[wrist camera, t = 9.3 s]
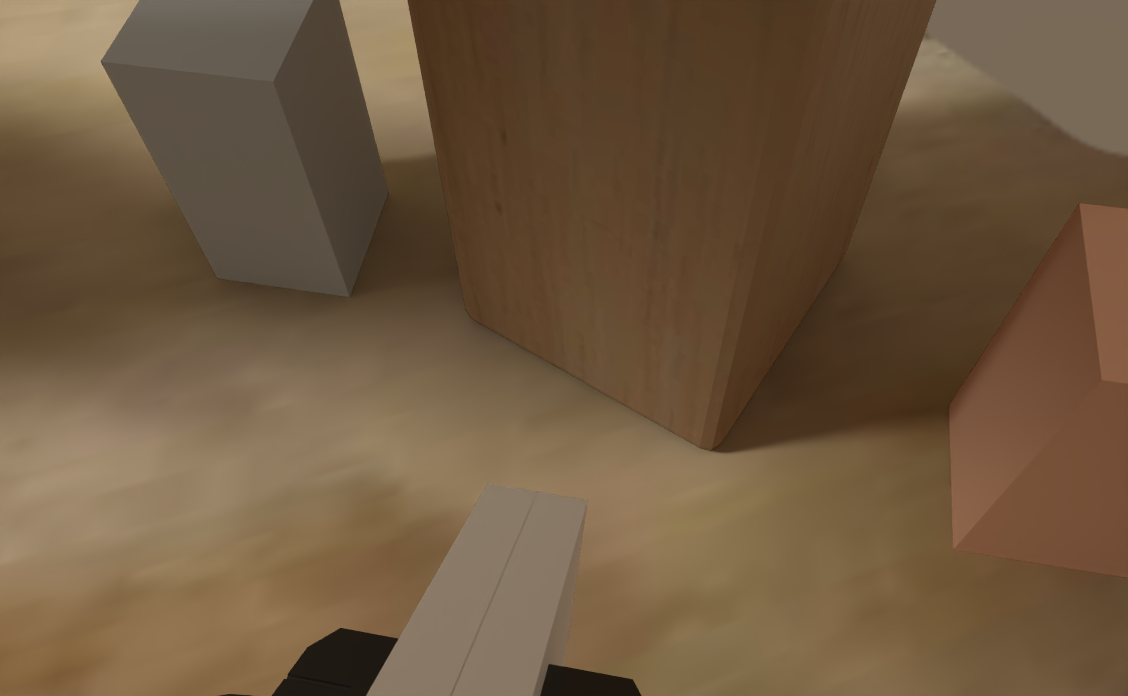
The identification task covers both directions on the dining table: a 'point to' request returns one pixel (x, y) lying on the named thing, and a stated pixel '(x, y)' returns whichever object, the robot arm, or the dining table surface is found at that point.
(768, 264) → the wooden block
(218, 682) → the dining table surface
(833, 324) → the dining table surface
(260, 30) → the slate post
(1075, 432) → the terracotta post
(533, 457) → the dining table surface
